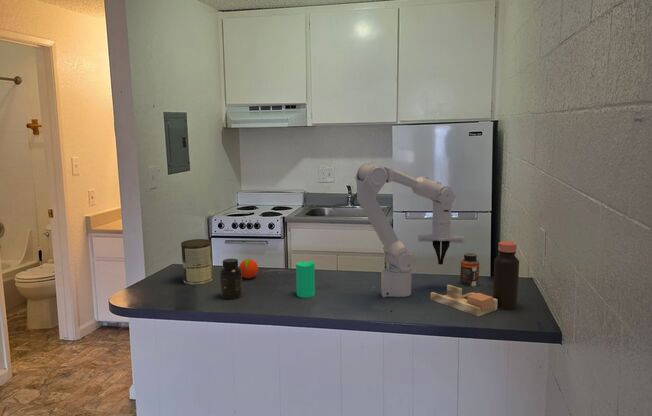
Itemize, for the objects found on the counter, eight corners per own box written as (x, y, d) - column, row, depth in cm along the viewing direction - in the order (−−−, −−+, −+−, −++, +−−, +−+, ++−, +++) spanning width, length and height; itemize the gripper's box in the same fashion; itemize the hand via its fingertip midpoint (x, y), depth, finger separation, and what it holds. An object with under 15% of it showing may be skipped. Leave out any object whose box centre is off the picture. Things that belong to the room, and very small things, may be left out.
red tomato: (256, 281, 176) (255, 262, 174) (237, 281, 176) (236, 262, 175) (259, 275, 184) (259, 256, 182) (241, 275, 184) (240, 256, 182)
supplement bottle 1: (216, 296, 160) (214, 261, 158) (232, 291, 166) (231, 256, 164) (231, 301, 156) (229, 264, 154) (246, 295, 161) (245, 259, 160)
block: (467, 309, 143) (467, 296, 142) (477, 305, 146) (478, 292, 145) (481, 314, 139) (482, 300, 138) (492, 310, 142) (493, 297, 141)
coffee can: (177, 281, 177) (174, 243, 175) (199, 274, 185) (197, 237, 183) (196, 286, 171) (193, 246, 169) (218, 279, 179) (216, 241, 177)
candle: (318, 292, 163) (317, 257, 161) (309, 298, 157) (309, 262, 156) (301, 290, 165) (301, 255, 163) (293, 296, 160) (292, 260, 158)
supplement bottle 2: (479, 290, 163) (480, 256, 161) (460, 289, 164) (461, 256, 163) (477, 284, 169) (478, 252, 167) (459, 283, 170) (460, 251, 168)
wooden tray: (430, 303, 152) (430, 290, 151) (463, 292, 161) (463, 280, 160) (478, 320, 138) (478, 306, 137) (511, 307, 147) (511, 294, 146)
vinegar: (521, 310, 145) (525, 243, 142) (506, 315, 141) (510, 247, 138) (502, 303, 150) (505, 239, 147) (487, 308, 147) (490, 242, 144)
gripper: (418, 224, 157) (417, 265, 159) (465, 225, 153) (464, 268, 156) (418, 220, 163) (418, 260, 165) (464, 221, 160) (463, 262, 162)
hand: (440, 263), depth 161 cm, fingers closed
